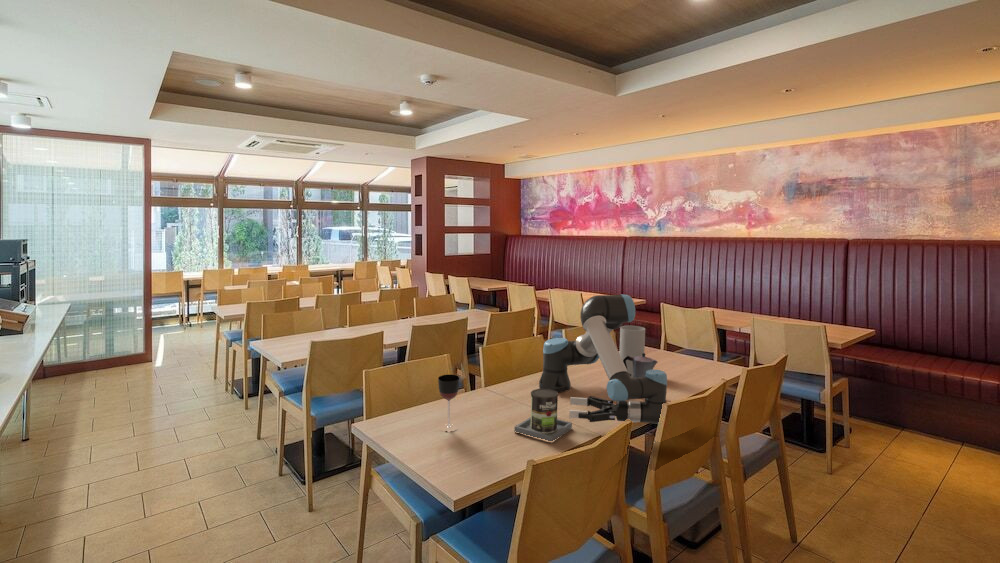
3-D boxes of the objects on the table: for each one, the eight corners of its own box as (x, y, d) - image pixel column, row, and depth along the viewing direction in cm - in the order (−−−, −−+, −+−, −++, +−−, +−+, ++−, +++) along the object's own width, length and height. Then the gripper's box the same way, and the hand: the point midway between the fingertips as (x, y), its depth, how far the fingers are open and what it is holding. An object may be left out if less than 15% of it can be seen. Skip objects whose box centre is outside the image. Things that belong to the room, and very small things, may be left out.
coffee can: (561, 432, 190) (562, 396, 188) (535, 435, 187) (536, 398, 185) (551, 422, 199) (551, 387, 198) (526, 424, 197) (527, 389, 195)
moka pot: (657, 399, 228) (659, 356, 226) (622, 397, 231) (623, 354, 229) (655, 393, 237) (656, 351, 235) (621, 390, 240) (622, 349, 238)
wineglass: (459, 423, 200) (459, 374, 197) (458, 432, 191) (458, 381, 189) (439, 423, 199) (439, 374, 197) (437, 432, 191) (437, 381, 188)
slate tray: (514, 432, 191) (514, 426, 191) (535, 419, 204) (536, 413, 204) (551, 443, 182) (551, 437, 182) (571, 428, 195) (571, 422, 195)
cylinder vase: (628, 370, 274) (630, 324, 271) (648, 375, 264) (650, 328, 261) (613, 374, 266) (615, 327, 263) (633, 380, 256) (635, 331, 253)
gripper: (630, 434, 175) (568, 430, 179) (624, 408, 200) (570, 404, 203) (631, 413, 174) (568, 409, 178) (625, 390, 199) (570, 386, 202)
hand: (569, 407), depth 191 cm, fingers open, 13 cm apart
